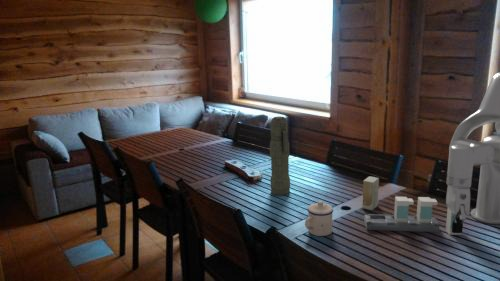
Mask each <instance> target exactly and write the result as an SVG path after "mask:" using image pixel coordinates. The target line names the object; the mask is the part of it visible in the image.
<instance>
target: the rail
mask: <svg viewBox="0 0 500 281" xmlns="http://www.w3.org/2000/svg"><path fill="white" fill-rule="evenodd" d="M416 218H417V214H415V215H414V214H408V223H406V222H395V220H394V214H381V213H379V214H377V213H376V214H375V213H364V220H363V222H364V225H365V229H366V231H386V232H387V231H388V232H389V231H393V232H421V233H423V232H426V233H439V232H440V226H441V225H440V222H439V221H438V219H436V217H435V215H432V218H431V223H418V222H417V220H416Z"/></svg>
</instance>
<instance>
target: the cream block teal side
mask: <svg viewBox="0 0 500 281" xmlns="http://www.w3.org/2000/svg"><path fill="white" fill-rule="evenodd" d="M416 204H417V205H416V206H417V207H416V215H417V218H416V220H417V222H418V223H431V218H432V216H433V206H438V201H437V200H436V198H431V197H429V196H426V197H425V196H418V197H417V203H416Z"/></svg>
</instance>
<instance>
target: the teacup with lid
mask: <svg viewBox="0 0 500 281" xmlns="http://www.w3.org/2000/svg"><path fill="white" fill-rule="evenodd" d="M307 212H308V216H307V218H305V222H304V226H305V228H306V229H307V230H308V232H309V234H311V235H313V236H316V237H325V236H326V237H327V236H328V235H329V236H330V235H331V234H332V232H333V213H334V209H333V206H331V205H330V204H328V203H324V201H323V200H318V201H317V202H316V203H312V204H309V206H308V208H307Z"/></svg>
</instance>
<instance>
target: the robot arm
mask: <svg viewBox="0 0 500 281" xmlns="http://www.w3.org/2000/svg"><path fill="white" fill-rule="evenodd" d="M480 102H481V103H480V105H479V108H478V109H477V110H476V111H475V112H474V113H472V114H470V115H469V116H468V117H466V118H465V119H464V120H463V121H461V122H460V123H459V125H457V127H456V128H455V130H454V133H453V134H452V138H451V140H450V143H449V146H448V150H449V151H448V161H447V162H448V164H447V174H446V185H447V188H446V196H445V204H446V207H447V209H448V208H449V209H450V210H451V212H452V213H453V214H454V222H453V225H452V232H453V233H462V234H463V228H464V222H465V220H466V216H467V217H468V216H470V215H471V217H472V218H474V219H475V220H477V221H479V222H482V223H486V224H491V225H500V135H488V136H485V137H484V138H483V139H482V140H481V141H477V140H474V139H469V138H468V137H469V135H470V134H471V133H472V132H473V131H474V130H476V129H478V128H480V127H482V126H485V125H489V124H493V123H494V128H495V130H496V131H497V132H498V133H500V71H499V72H497V73H495V74H494V75H493V76H492V77H491V79H490V82H489V85H488V86H487V88H486V92H485V94H484V96H483V99H482V100H481V101H480ZM474 166H480V170H479V177H478V178H479V179H478V180H479V181H478V187H477V188H478V189H477V190H478V191H477V196H476V197H477V198H476V206H475V208H473V209H470V208H471V189H470V188H471V187H472V180H473V172H474V171H473V170H474ZM457 212H460V214H457ZM465 214H466V215H465ZM457 216H460V217H459V218H457Z"/></svg>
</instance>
